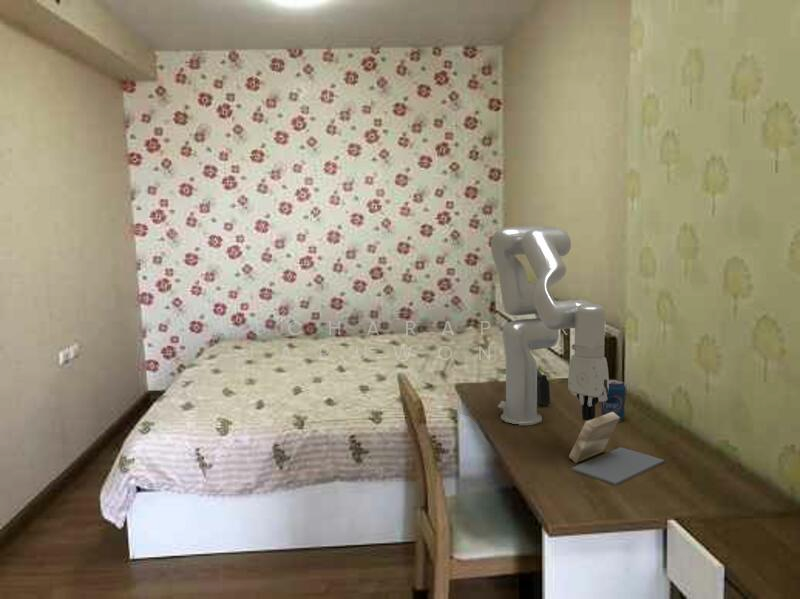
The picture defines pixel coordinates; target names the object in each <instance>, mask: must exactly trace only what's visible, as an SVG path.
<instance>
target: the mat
mask: <svg viewBox="0 0 800 599" xmlns="http://www.w3.org/2000/svg"><path fill="white" fill-rule="evenodd" d="M664 463H665V459H662V458H658V457H656V456H652V455H649V454H646V453H642V452H639V451H635V450H632V449H629V448H625V447H621V446H620V447H617V448H614V449H613V450H611V451H608V452H606V453H604V454H600V455H599V456H596V457H594V458H591V459H588V460H587V461H585V462H582V463H579V464H577V465H575V466H573V467H570V471H573V472H576V473H578V474H581V475H584V476H586V477H590V478H593V479H596V480H599V481H602V482H604V483H607V484H610V485H613V486H617V485H619V484H621V483H625V482H626V481H628V480H630V479H632V478H634V477H637V476H638V475H640V474H643V473H644V472H647V471H649V470H651V469H653V468H655V467H657V466H658V467H659V466H660V465H661V464H664Z"/></svg>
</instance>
